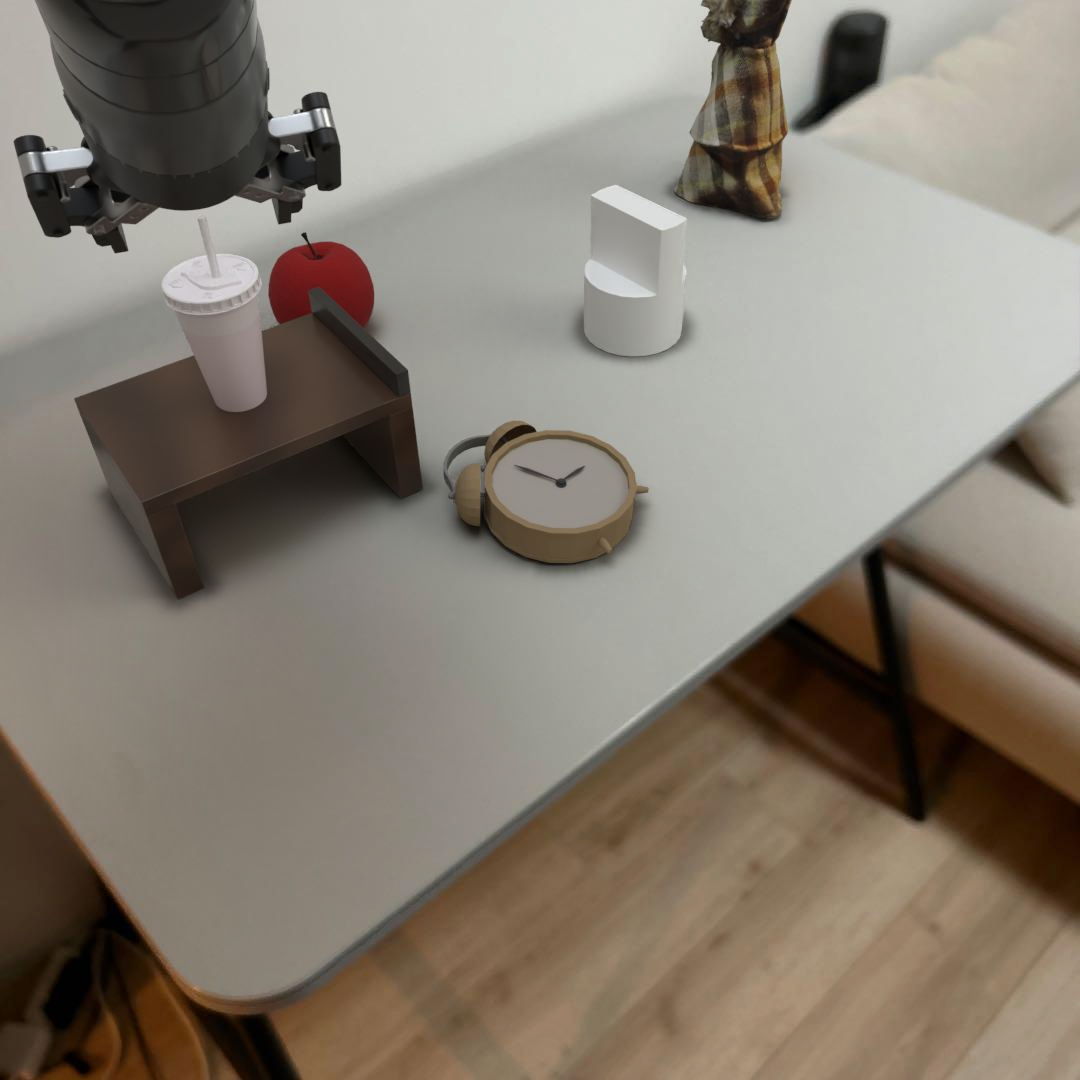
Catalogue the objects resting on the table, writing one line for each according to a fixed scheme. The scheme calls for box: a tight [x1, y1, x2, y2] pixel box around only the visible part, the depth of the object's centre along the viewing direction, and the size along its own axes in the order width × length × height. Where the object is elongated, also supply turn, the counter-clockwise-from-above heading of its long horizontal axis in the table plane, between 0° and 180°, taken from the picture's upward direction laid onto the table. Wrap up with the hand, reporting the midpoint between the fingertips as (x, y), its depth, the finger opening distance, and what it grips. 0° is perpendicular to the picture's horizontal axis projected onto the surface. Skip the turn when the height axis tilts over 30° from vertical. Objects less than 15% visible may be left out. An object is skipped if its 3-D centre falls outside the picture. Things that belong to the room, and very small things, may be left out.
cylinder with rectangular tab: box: [583, 184, 688, 357], centre depth 96 cm, size 9×9×12 cm
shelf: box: [73, 287, 424, 600], centre depth 80 cm, size 20×14×11 cm
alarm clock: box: [442, 420, 649, 564], centre depth 81 cm, size 11×5×15 cm
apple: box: [267, 231, 375, 329], centre depth 97 cm, size 9×9×10 cm
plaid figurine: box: [673, 0, 793, 219], centre depth 111 cm, size 14×14×25 cm
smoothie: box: [160, 214, 267, 412], centre depth 73 cm, size 6×6×14 cm
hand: (199, 220), depth 58 cm, fingers open, 8 cm apart
